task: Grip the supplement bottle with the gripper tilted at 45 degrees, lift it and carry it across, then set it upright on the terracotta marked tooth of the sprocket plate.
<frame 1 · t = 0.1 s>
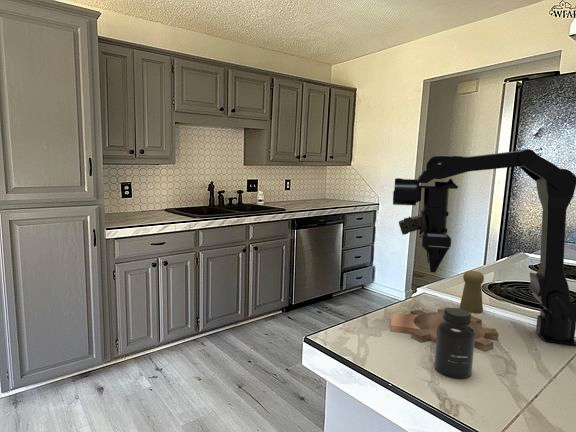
hand: (431, 267, 94), 15 cm above the counter, tool pointing down, fingers open, 9 cm apart
supplement bottle: (452, 370, 73), on the counter
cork: (471, 309, 106), on the counter
sprocket plate: (447, 331, 91), on the counter
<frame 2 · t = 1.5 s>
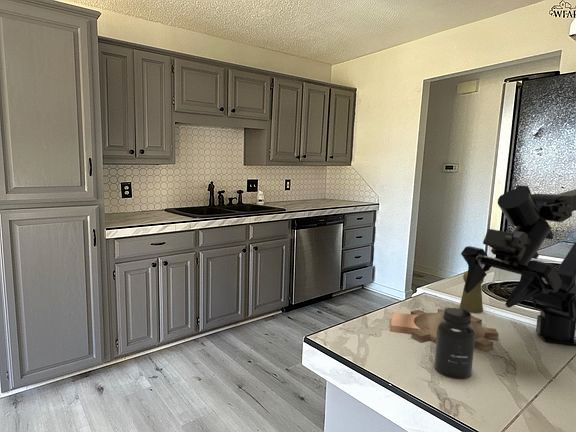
hand: (485, 298, 75), 13 cm above the counter, tool tilted 45°, fingers open, 9 cm apart
nothing on the counter moved.
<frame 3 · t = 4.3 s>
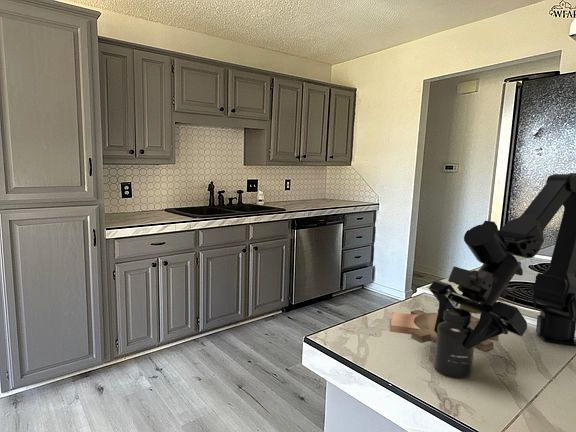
hand: (450, 339, 72), 7 cm above the counter, tool tilted 45°, fingers closed on supplement bottle, 7 cm apart
supplement bottle: (452, 370, 73), on the counter, touching gripper
everything else where it was.
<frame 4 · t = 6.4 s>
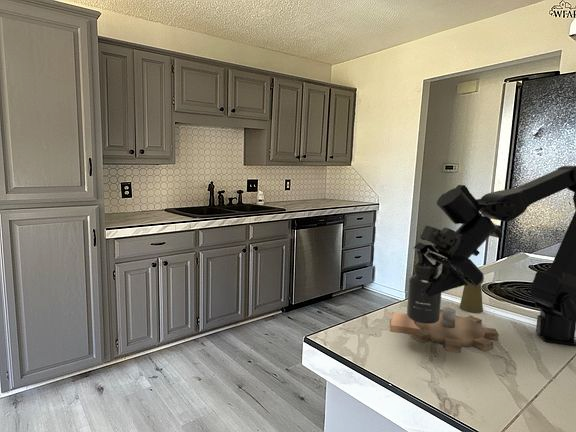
hand: (418, 289, 81), 13 cm above the counter, tool tilted 45°, fingers closed on supplement bottle, 7 cm apart
supplement bottle: (423, 318, 82), point 6 cm above the counter, touching gripper
everything else where it was.
when the fingers open (9 cm above the counter, at t = 9.1 s): supplement bottle stays where it is, resting on sprocket plate.
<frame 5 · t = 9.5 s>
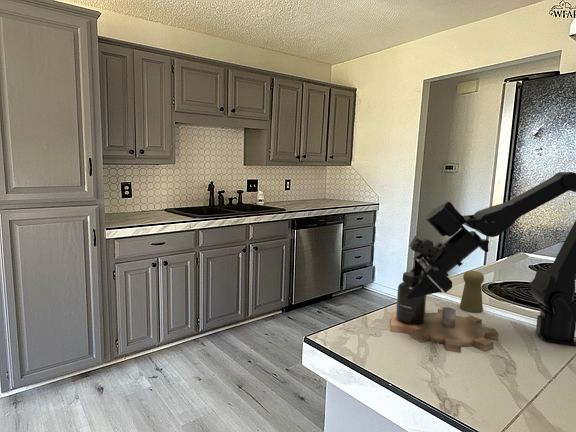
hand: (405, 291, 93), 9 cm above the counter, tool tilted 45°, fingers open, 9 cm apart
supplement bottle: (410, 320, 93), point 1 cm above the counter, touching sprocket plate
everything else where it was.
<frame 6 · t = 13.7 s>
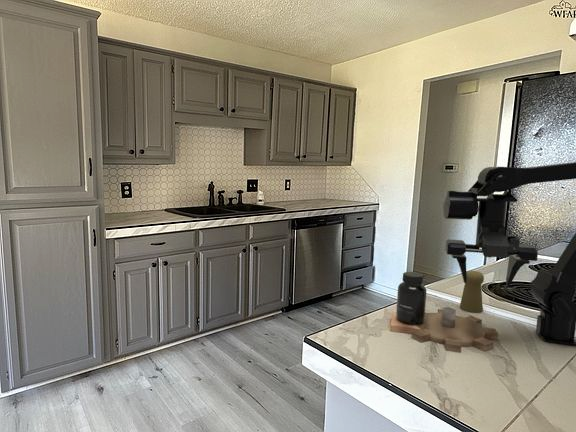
hand: (485, 284, 89), 12 cm above the counter, tool pointing down, fingers open, 9 cm apart
nothing on the counter moved.
at the end: supplement bottle inside the target area on the sprocket plate (0.3 cm from its centre), point 1.3 cm above the sprocket plate's base; supplement bottle tilted 0°; the gripper is holding nothing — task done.
